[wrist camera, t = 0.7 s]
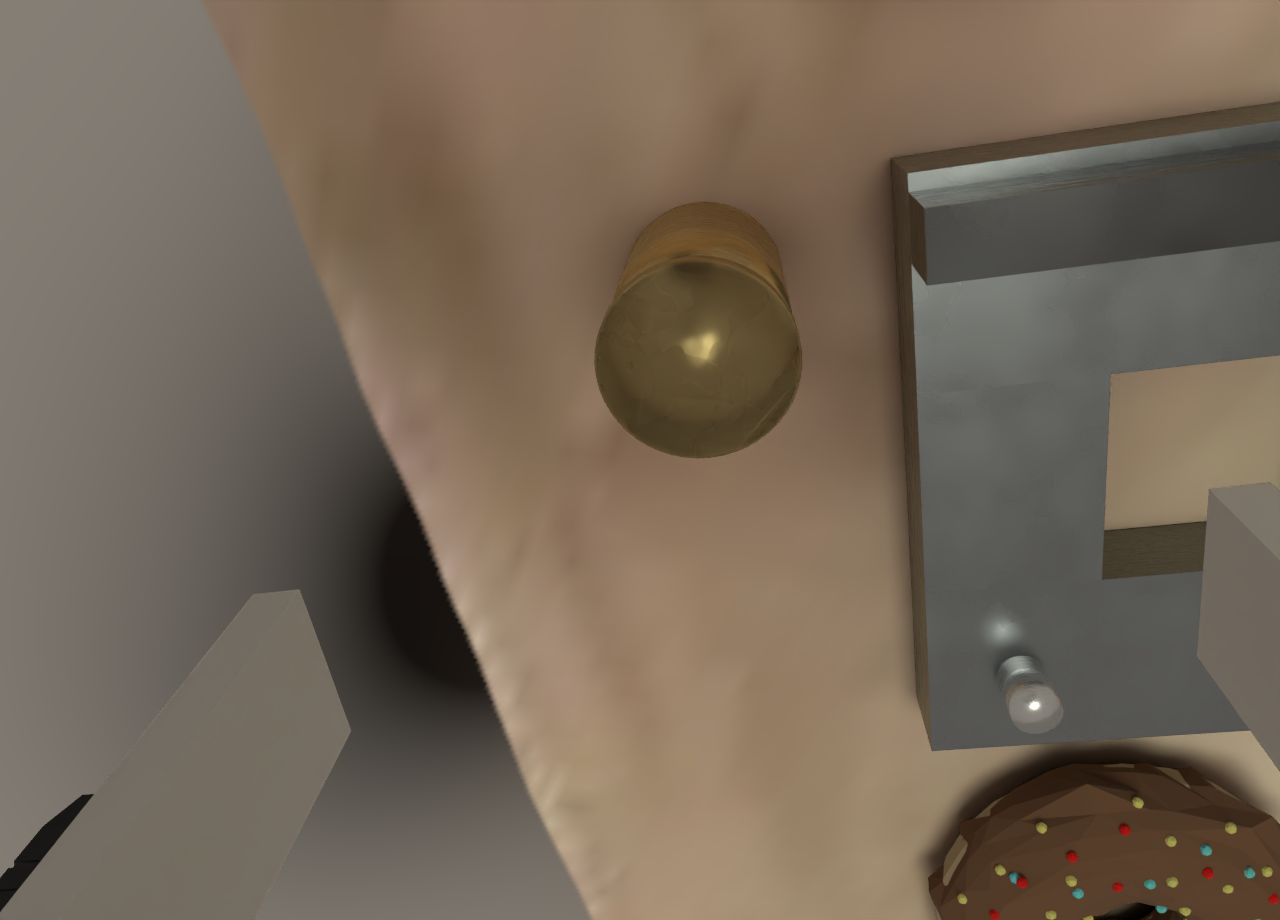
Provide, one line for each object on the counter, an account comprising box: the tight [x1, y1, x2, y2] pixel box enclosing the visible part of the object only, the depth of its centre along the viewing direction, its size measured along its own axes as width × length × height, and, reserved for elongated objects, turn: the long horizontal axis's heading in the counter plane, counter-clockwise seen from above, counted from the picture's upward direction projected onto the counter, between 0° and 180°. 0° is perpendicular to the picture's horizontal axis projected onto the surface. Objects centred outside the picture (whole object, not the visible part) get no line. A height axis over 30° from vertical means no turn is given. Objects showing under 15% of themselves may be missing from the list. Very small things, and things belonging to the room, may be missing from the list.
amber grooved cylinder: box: [595, 202, 802, 458], centre depth 28 cm, size 5×5×8 cm
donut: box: [928, 762, 1280, 920], centre depth 38 cm, size 14×14×5 cm
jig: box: [891, 102, 1280, 751], centre depth 30 cm, size 20×18×5 cm
